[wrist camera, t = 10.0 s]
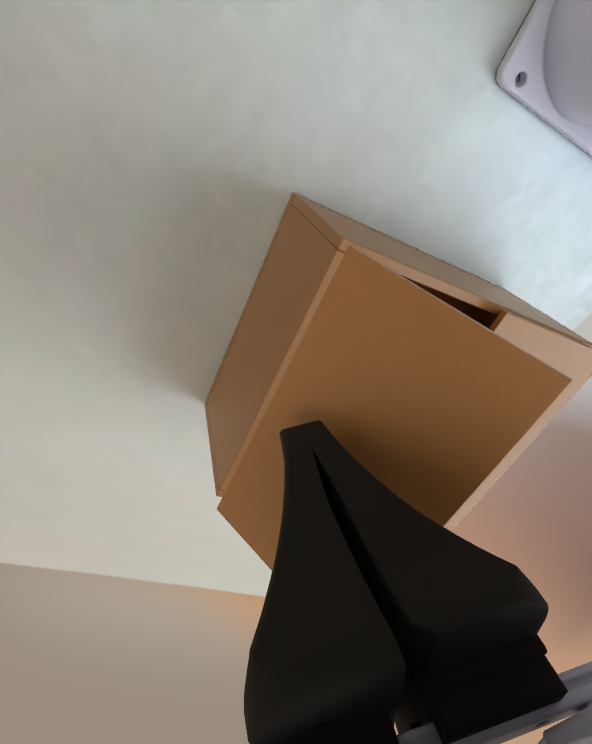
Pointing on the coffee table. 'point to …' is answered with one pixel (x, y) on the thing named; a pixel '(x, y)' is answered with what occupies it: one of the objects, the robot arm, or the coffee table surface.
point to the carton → (301, 299)
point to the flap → (394, 399)
